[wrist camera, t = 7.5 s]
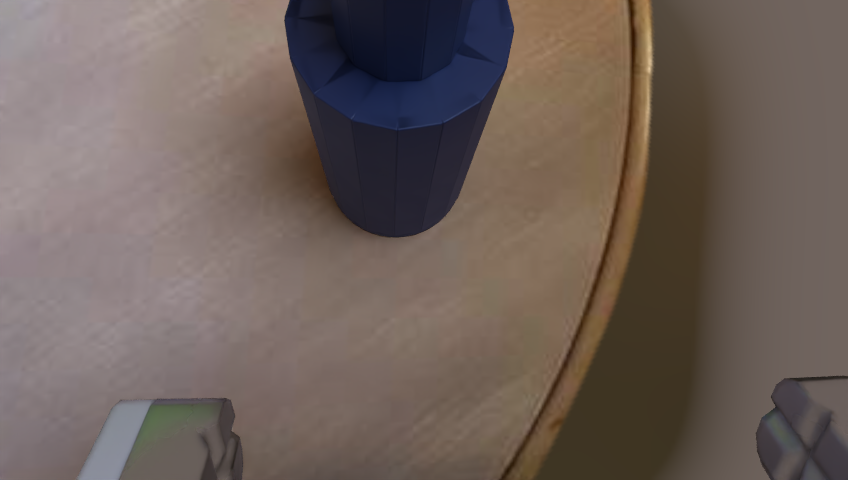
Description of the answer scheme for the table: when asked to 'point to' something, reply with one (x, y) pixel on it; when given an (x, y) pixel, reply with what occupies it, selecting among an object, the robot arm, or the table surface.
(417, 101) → the bottle
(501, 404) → the table surface
